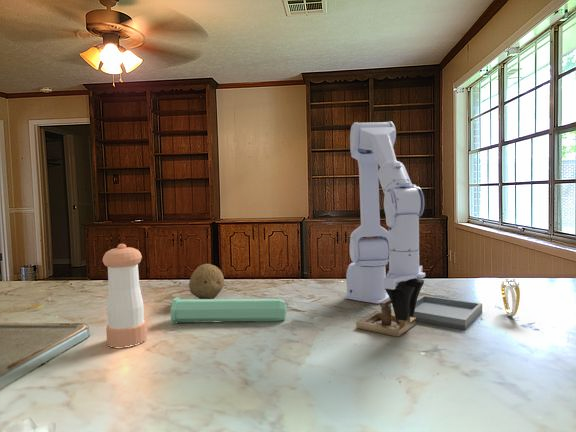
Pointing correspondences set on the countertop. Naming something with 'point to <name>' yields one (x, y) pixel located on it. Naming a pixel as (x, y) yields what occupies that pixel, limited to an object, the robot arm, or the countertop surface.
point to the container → (227, 310)
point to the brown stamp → (386, 314)
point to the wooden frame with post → (397, 331)
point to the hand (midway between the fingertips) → (404, 317)
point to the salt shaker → (124, 298)
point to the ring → (515, 301)
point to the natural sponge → (206, 281)
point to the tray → (446, 312)
